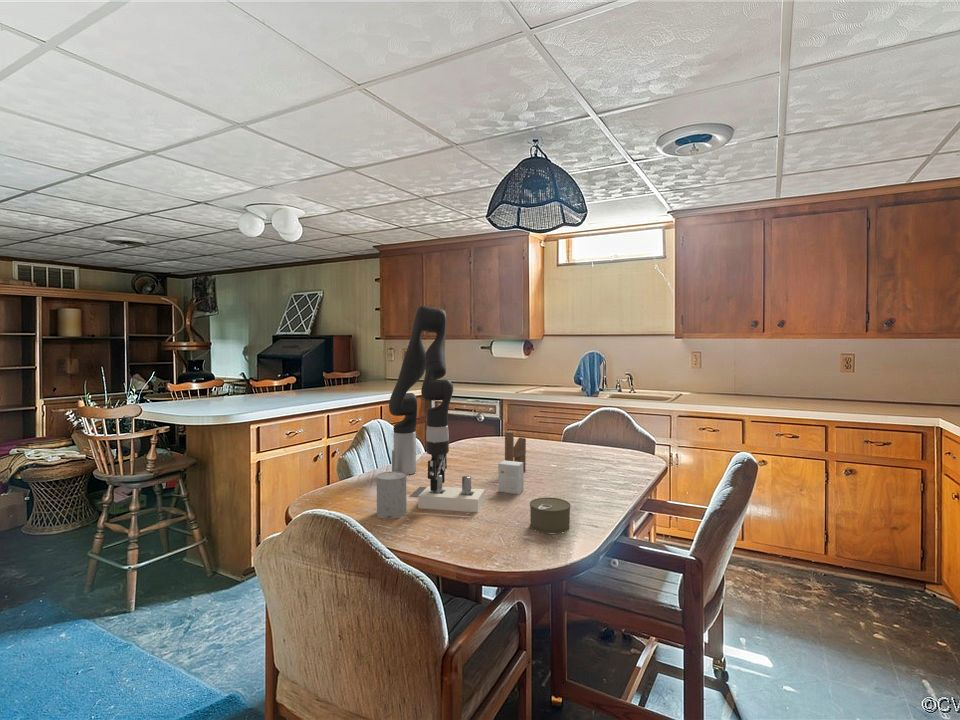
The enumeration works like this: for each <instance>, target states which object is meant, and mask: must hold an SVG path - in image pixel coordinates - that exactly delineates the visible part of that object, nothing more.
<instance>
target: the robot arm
mask: <svg viewBox="0 0 960 720" xmlns="http://www.w3.org/2000/svg"><path fill="white" fill-rule="evenodd" d="M423 332H426V333H431V334H432V333H433V334H436V336H435V339H434V341H433V342H431V345H429V347H428V348H427V350H426V349H425V346H424V342H423V340H422V333H423ZM446 337H447V313H446V311H445V310H444V309H441V308H438V307H433V306H427V305H420V306H419V307H418V308H417V310H416V313H415V315H414V319H413V326H412V330H411V333H410V338H409V342H408V345H407V348H406V351H405V354H404V357H403V361H402V364H401V368H400V372H399V375H398V377H397V382H396V383H395V386H394V388H393V390H392V393H391V395H390V398H389V403H388V410H389V413H390V414H391V415H392V416H394V417H399V416H400V417H401V416H404V417H403V419H402V420H401V421H399V422H397V423H396V424H394V425H393V430H392V431H393V449H392V450H391V472H393V471H396V472H403V473H406V475H407V476H409V474H410V475H413V473H414V474H416V473H417V424H418V398H417V396H416V395H415V393H413V392H408V391H409V390H410V389H411V388H412V387H413V386H414V385H415V384H416V383H418V382H419V381H420V380H421V378H424V379H423V382H422V384H421V390H420V395H421V396H422V398H423V399H424V400H425V401H441V403H440V404H439V405H437V406H433V407H430V408H428V409H427V410H426V430H425V431H426V432H425V433H426V435H425V437H426V439H425V443H426V444H425V445H426V446H425V449H426V451H425V452H426V454H428V455H430V456H431V458H430V459H429V460H428V461H427V479H428V480H429V481H430V482H429V483H430V485H429V486H430V490H431V491H437V479H438V474H441V475H442V484H444V483H445V482H446V481H445V478H446V477H445V476H446V475H445V474H446V473H445V472H446V469H447V468H448V464H447V462H448V459H447V454H448V453H449V452H450V448H449V447H450V442H449V441H450V437H449V435H450V434H449V433H450V431H449V424H448V423H449V408H450V403H451V400H452V397H453V393H454V385H453V383H452V381H451V380H449V379H446V378H445V379H443V378H444V377H445V376H446V373H447V367H446V357H445V355H446V354H445V351H446V350H445V349H446ZM423 376H424V377H423ZM415 472H416V473H415Z"/></svg>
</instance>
